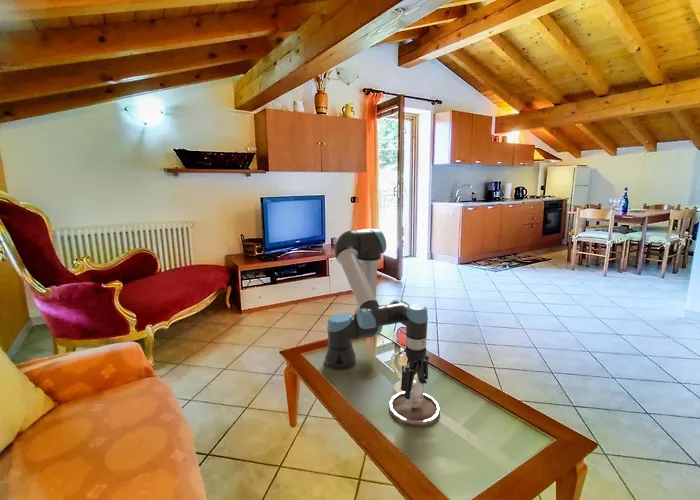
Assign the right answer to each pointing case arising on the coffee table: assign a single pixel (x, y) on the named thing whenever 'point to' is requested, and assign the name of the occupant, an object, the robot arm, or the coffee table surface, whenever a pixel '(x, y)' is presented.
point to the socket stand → (414, 411)
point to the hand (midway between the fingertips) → (414, 401)
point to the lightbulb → (416, 392)
